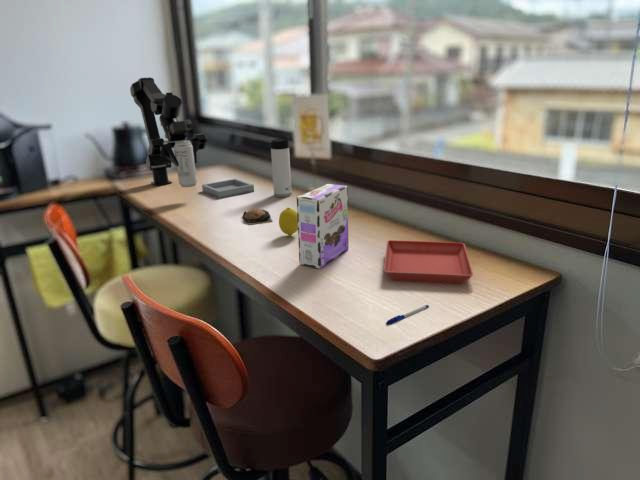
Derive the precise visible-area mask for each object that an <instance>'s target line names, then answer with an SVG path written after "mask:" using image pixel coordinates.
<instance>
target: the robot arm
mask: <svg viewBox="0 0 640 480" xmlns="http://www.w3.org/2000/svg"><path fill="white" fill-rule="evenodd" d="M129 89H130V96H131V97H132V98H133V102H134V103H135V104H136V105H137V107H138V108H140V113H141V116H142V120H143V125H144V129H145V132H146V136H147V139H148V140H147V141H148V144H149V145H148V148H147V151H146V154H147V155H146V159H145V165H146V169H147V170H149V171H151V172H152V179H153V181H151V182H150V184H152V185H154V186H155V187H157V186H158V187H159V186H162V185H169V184H173V182H172V181H171V180H169V175H168V169H170V168H172V164H173V165H175V166H176V167H177V166H178V161H177V159H176V157H175V152H174V151H173V149H174V146H175V142H176V141H183V140H187V138H188V134H187V132H189V131H191V130H192V129H193V123H192V121H191V119H190V118H189V119H184V120H178V117H180V113H181V108H182V104H183V103H182V101H183V100H182V99H181V98H180V97H179V96H178V95H176V94H173V92H166V93H163V92H162V90H161V89H160V88H159V87H158V85H157V84H156V83H155V79H154V78H153V77H140V78H138V80H137V81H135V82H133V83H132V84H131V85H130V88H129ZM156 116H159V118H158V120H159V122H160V126H161V127H162V130H163V132H164V138H165V139H167V140H165V139H164V138H162V137H161V136H160V133H159V127H158V123H157V119H156ZM192 135H193V136H192V139H188V140H189V141H190V143H191V144H192V146H193V153H194V161H195V165H197V163H198V160H197V153H198V151H200V150H201V151H202V150H204V149H205V147H206V145H207V140H208V137H207V135H206V134H205V133H196V134H192Z"/></svg>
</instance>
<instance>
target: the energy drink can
mask: <svg viewBox="0 0 640 480" xmlns="http://www.w3.org/2000/svg"><path fill="white" fill-rule="evenodd" d="M189 140H190V139H186V140H183V141H176V142H175V146H174V148H173V149H174V151H173V152H174V155H175V157H176V159H177V161H178V166H176V172H177V178H178V184H179V186H180V187H181V188H193V187H195V186H196V185H197V183H198V180H197V171H196V164H195V161H194V153H193V146H192V144H191V143H190V141H189Z"/></svg>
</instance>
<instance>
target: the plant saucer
mask: <svg viewBox="0 0 640 480" xmlns="http://www.w3.org/2000/svg"><path fill="white" fill-rule="evenodd" d="M383 272H384V273H385V274H386V276H387V277H388V278H389V279H390V280H392V281H395V282H396V281H397V282H399V281H400V282H402V281H403V282H423V283H445V284H463V283H465V282H466V281H468V280H469V279H470V278H471V277H472V276H473V275H474V272H473V269H472V265H471V262H470V258H469V254H468V252H467V247H466V244H465V243H463V242H453V241H451V242H447V241H425V240H423V241H422V240H421V241H420V240H396V239H395V240H393V239H392V240H387V242H386V249H385V256H384V264H383Z"/></svg>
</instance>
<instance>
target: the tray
mask: <svg viewBox="0 0 640 480" xmlns="http://www.w3.org/2000/svg"><path fill="white" fill-rule="evenodd" d="M201 188H202V192H204V193H205V194H207V195H211V196H213V197H215V198H217V199H220V200H221V199H225V198H228V197H229V198H230V197H234V196H239V195H243V194H248V193H253V192H255V185H254V184H253V183H249V182H247V181H244V180H241V179H238V178H232V179H231V178H230V179H226V180H225V179H224V180H221V181H220V180H219V181H216V182H209V183H205V184H202V185H201Z"/></svg>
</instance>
